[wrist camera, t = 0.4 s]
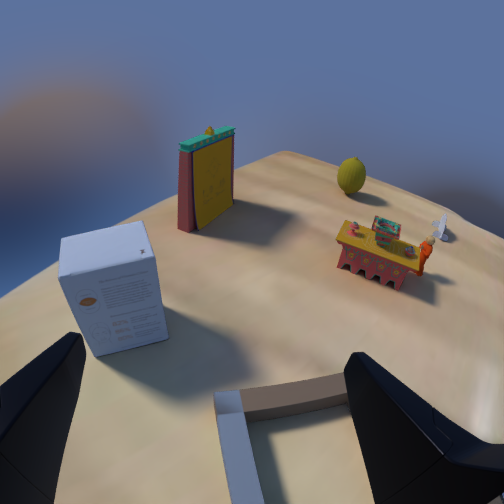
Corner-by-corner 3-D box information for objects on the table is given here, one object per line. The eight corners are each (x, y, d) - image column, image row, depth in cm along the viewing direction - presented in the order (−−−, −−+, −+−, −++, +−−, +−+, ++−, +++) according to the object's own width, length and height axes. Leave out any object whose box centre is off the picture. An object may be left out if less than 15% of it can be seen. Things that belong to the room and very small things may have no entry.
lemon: (357, 190, 61) (365, 155, 57) (362, 202, 57) (372, 165, 52) (331, 186, 61) (339, 150, 57) (335, 198, 57) (344, 159, 52)
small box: (156, 301, 33) (145, 218, 26) (170, 340, 29) (157, 255, 22) (88, 317, 29) (60, 236, 23) (93, 359, 25) (56, 277, 19)
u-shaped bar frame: (424, 569, 10) (442, 568, 9) (264, 627, 7) (269, 636, 6) (353, 381, 26) (362, 367, 25) (214, 405, 24) (213, 392, 22)
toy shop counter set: (223, 197, 53) (227, 118, 45) (422, 268, 42) (457, 185, 34) (177, 229, 44) (174, 135, 36) (418, 324, 33) (471, 226, 24)
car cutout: (454, 250, 48) (463, 229, 45) (423, 237, 50) (432, 216, 47) (448, 217, 59) (455, 199, 56) (423, 206, 61) (429, 189, 58)
